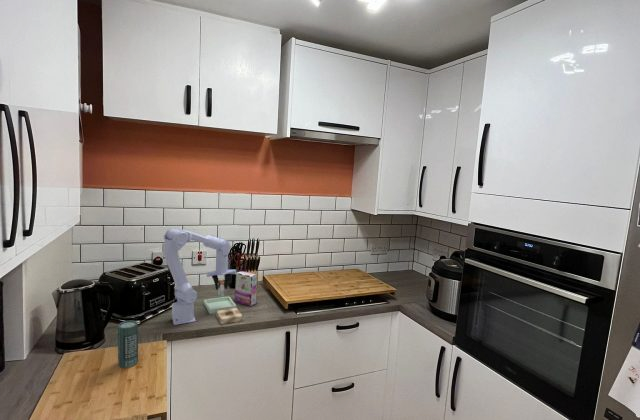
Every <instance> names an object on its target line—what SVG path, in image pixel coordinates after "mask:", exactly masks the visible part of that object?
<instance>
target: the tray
mask: <svg viewBox="0 0 640 420" xmlns="http://www.w3.org/2000/svg"><path fill="white" fill-rule="evenodd" d="M203 305H204V307H205V309H206V311H207V313H208V315H216V311H219V310H225V309H232V308H237V304H236V303H235V301H233V299H232V298H231V297H230V296H223V297H215V298H208V299H204V300H203Z"/></svg>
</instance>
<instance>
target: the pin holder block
mask: <svg viewBox="0 0 640 420" xmlns="http://www.w3.org/2000/svg"><path fill="white" fill-rule="evenodd" d="M215 315H216V318H217V320H218V322H219V323H220V324H221V325H226V324H230V323H231V324H233V323H238V322H243V314H242V313H241V312H240V311H239V309H238V308H237V307H236V308H232V309H225V310H219V311H216V314H215Z"/></svg>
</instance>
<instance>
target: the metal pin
mask: <svg viewBox="0 0 640 420" xmlns="http://www.w3.org/2000/svg"><path fill="white" fill-rule="evenodd" d="M225 282H226V280H225V279H218V290H217V292H218V298H221V297H226V296H225V294H226V293H225V291H226V290H225Z"/></svg>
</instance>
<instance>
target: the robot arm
mask: <svg viewBox="0 0 640 420" xmlns="http://www.w3.org/2000/svg"><path fill="white" fill-rule="evenodd" d="M163 239H164V242H163V250H162V253H163V257H164V258H165V261H166V265H167V266H168V270H169V271H170V274H171V276H172V279H173V281H174V287H173V288H174V296H175V298H177V300H176V302H173V303H172V304H171V320H172V322H173V325H174V326H177V325H182V324H188V323H189V324H190V323H195V322H196V321H197V320H196V317H195V301H196V300H197V298H198V292H197V291H196V290H195V289H193V286H192V284H190V282H189V280H188V278H187V276H186V273H185V269H184V268H183V265H182V262H181V260H180V256H179V251H180V250H181V249H182V248H184V247H185V245H187V243H190V242H191V241H194V242H199V243H202V244H203V246H204V247H205V248H210V249H213V250H216V253H215V260H216V261H215V270H212V271H206V278H210V277H212V280H213V282H214V287H215V290H216V291H218V280H220V278H219V277H218V276H224V280H226V282H225V289H227V288H228V285H229V282H230V280H231V278H232V275H236V273H237V269H228V267H229V266H228V265H229V260H228V259H229V258H228V257H229V253H230V250H231V247H232V245H231V244H230V242H229V241H228V240H225V239H223V238H222V237H216V236H215V235H213V234H208V235H206V236H204V235H201V234H198V233H196V232H193V231H190V230H185V229H179V228H178V229H177V228H175V227H173V228H172V227H171V228H169V229H167V230H166V232H165V234H164V235H163Z"/></svg>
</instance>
